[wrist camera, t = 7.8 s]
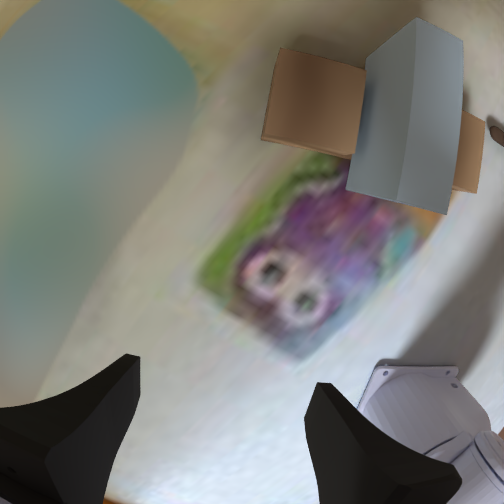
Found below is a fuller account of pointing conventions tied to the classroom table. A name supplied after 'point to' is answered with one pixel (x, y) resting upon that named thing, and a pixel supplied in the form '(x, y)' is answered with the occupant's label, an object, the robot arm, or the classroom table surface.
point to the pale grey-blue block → (410, 119)
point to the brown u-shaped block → (342, 113)
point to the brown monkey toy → (497, 135)
